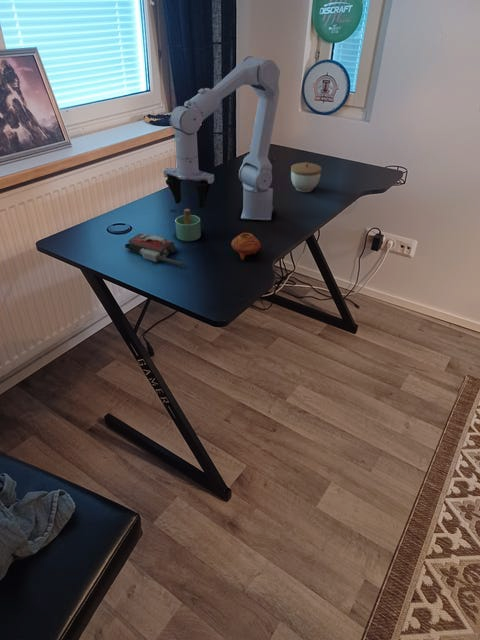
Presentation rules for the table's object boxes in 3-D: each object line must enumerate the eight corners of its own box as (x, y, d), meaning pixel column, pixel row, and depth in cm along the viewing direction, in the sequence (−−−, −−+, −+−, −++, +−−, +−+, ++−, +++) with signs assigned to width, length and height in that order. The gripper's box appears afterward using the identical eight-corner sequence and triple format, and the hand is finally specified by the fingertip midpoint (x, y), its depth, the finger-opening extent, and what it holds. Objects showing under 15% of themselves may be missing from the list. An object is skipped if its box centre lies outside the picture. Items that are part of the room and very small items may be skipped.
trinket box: (315, 196, 160) (318, 169, 154) (286, 192, 163) (287, 165, 157) (322, 185, 168) (325, 159, 162) (293, 182, 171) (295, 156, 165)
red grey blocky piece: (120, 253, 126) (181, 270, 118) (117, 239, 123) (180, 255, 116) (139, 240, 132) (198, 256, 125) (137, 226, 129) (198, 241, 122)
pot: (223, 255, 124) (226, 231, 121) (243, 252, 130) (246, 228, 127) (245, 264, 120) (249, 239, 117) (264, 260, 125) (268, 236, 122)
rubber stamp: (196, 230, 136) (194, 206, 132) (196, 237, 133) (195, 212, 128) (180, 231, 136) (178, 207, 131) (180, 237, 132) (178, 213, 128)
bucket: (202, 230, 137) (202, 215, 134) (198, 241, 131) (197, 225, 128) (179, 229, 138) (178, 214, 135) (174, 240, 132) (172, 224, 129)
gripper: (155, 157, 121) (161, 205, 129) (205, 163, 117) (207, 213, 125) (168, 149, 127) (172, 196, 135) (216, 155, 122) (217, 203, 130)
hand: (190, 204), depth 130 cm, fingers open, 7 cm apart
